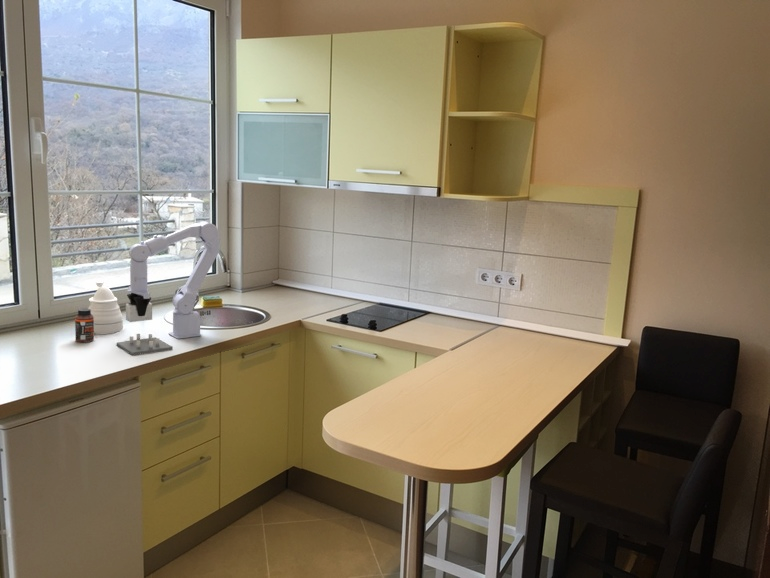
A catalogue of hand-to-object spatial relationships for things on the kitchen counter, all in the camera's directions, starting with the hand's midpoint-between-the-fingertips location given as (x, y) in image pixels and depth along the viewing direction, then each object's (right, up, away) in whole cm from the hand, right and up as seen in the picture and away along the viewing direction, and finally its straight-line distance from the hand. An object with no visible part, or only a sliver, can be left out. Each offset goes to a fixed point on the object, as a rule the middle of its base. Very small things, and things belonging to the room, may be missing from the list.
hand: (139, 314), depth 234 cm
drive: (0, -2, 0) cm, 2 cm away
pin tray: (+5, -11, -9) cm, 15 cm away
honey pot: (-17, -6, +11) cm, 21 cm away
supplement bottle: (-17, -9, -5) cm, 20 cm away
